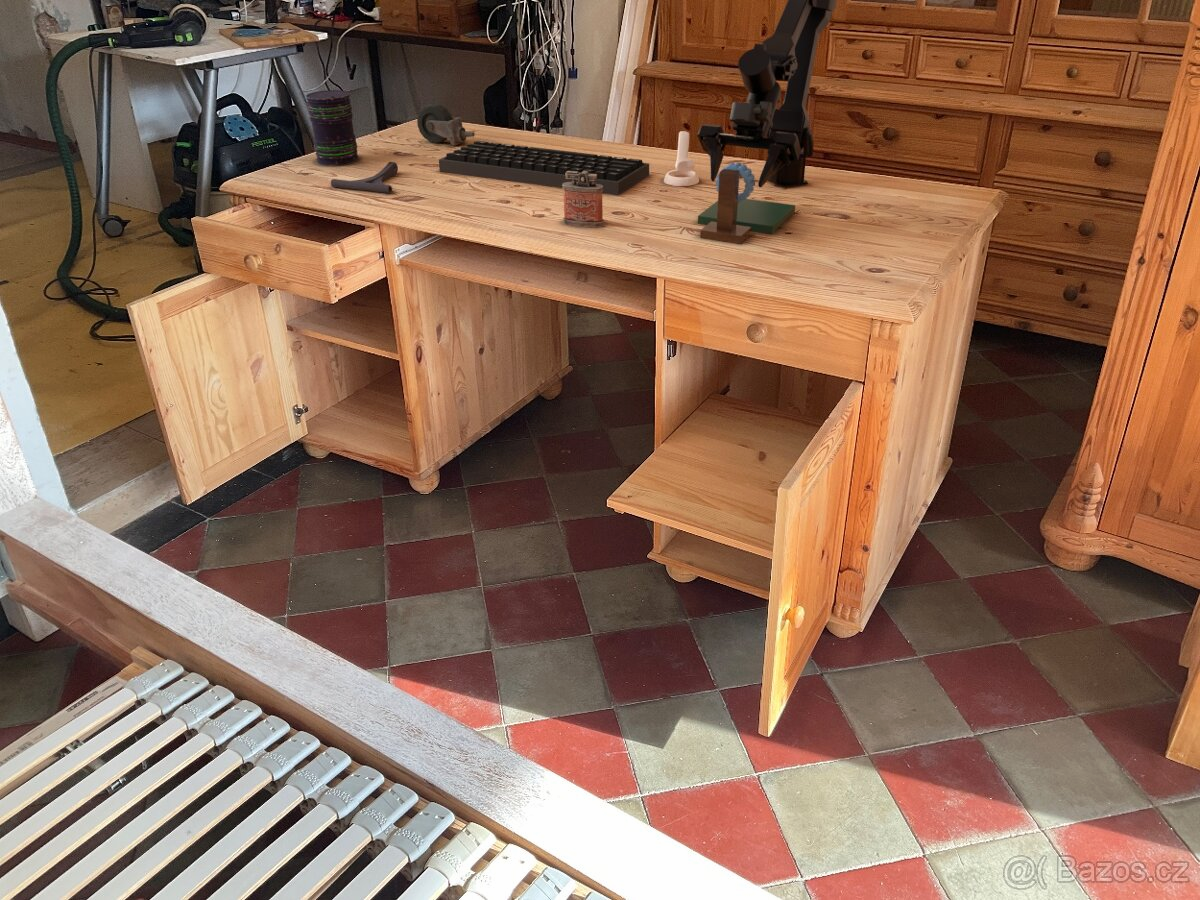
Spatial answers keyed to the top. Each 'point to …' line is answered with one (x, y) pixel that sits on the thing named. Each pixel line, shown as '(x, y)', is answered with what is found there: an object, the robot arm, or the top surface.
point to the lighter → (582, 200)
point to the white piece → (682, 165)
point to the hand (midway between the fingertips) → (735, 183)
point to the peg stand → (727, 211)
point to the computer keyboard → (542, 165)
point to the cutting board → (754, 215)
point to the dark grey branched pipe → (370, 181)
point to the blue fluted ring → (745, 174)
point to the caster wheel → (441, 125)
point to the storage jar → (332, 127)
